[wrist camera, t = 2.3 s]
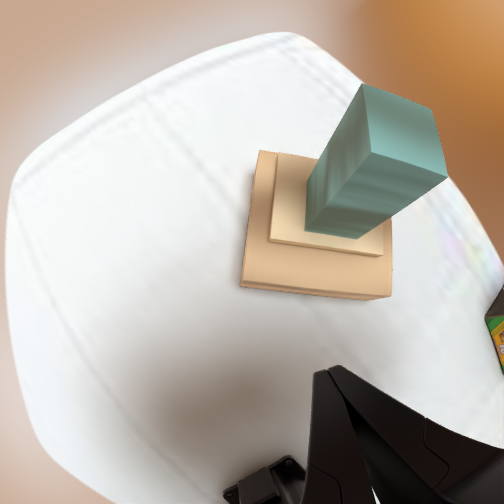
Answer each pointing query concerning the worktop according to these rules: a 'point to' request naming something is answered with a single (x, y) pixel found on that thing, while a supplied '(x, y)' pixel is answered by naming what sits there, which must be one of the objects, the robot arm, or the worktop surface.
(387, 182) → the tall teal pillar
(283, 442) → the worktop surface
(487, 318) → the chalk box
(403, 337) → the worktop surface
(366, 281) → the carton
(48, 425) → the worktop surface
